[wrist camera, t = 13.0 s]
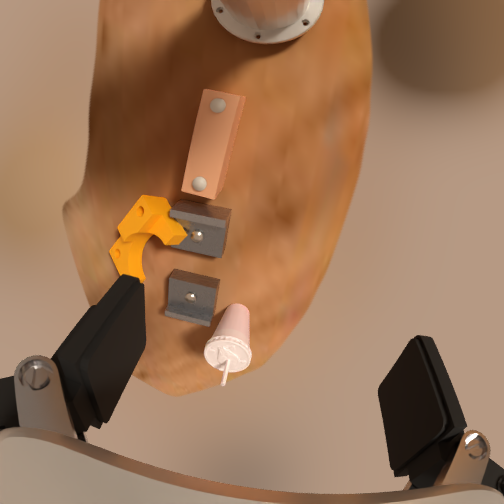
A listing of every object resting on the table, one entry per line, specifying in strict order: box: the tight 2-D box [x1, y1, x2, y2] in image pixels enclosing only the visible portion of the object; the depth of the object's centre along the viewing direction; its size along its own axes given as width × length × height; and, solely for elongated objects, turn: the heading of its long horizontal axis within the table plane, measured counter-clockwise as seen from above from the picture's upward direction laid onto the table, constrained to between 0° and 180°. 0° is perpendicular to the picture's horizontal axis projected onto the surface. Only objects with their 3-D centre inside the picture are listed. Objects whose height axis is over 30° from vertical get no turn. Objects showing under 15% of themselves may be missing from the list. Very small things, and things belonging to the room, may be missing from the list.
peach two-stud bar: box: [181, 89, 246, 200], centre depth 34 cm, size 12×4×5 cm, turn 165°
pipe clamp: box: [109, 195, 187, 283], centre depth 40 cm, size 12×4×6 cm
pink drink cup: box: [204, 304, 252, 386], centre depth 42 cm, size 6×6×14 cm
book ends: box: [165, 199, 232, 327], centre depth 43 cm, size 17×7×4 cm, turn 169°
